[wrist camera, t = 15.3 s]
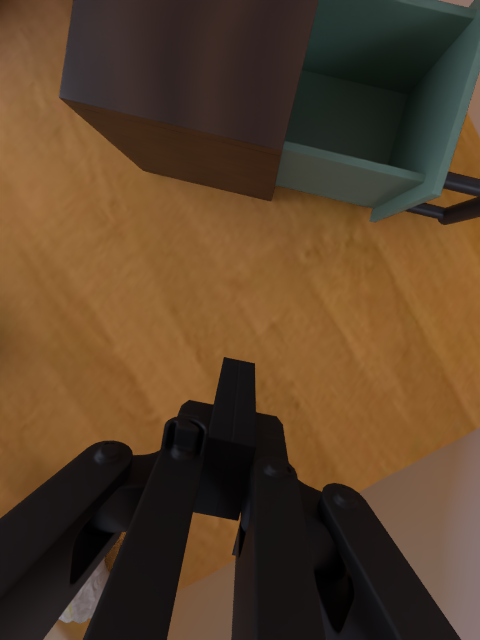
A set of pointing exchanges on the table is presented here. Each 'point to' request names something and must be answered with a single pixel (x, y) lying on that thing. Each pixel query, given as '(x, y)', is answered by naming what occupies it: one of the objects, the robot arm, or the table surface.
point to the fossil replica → (87, 596)
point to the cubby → (191, 84)
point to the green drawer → (385, 106)
